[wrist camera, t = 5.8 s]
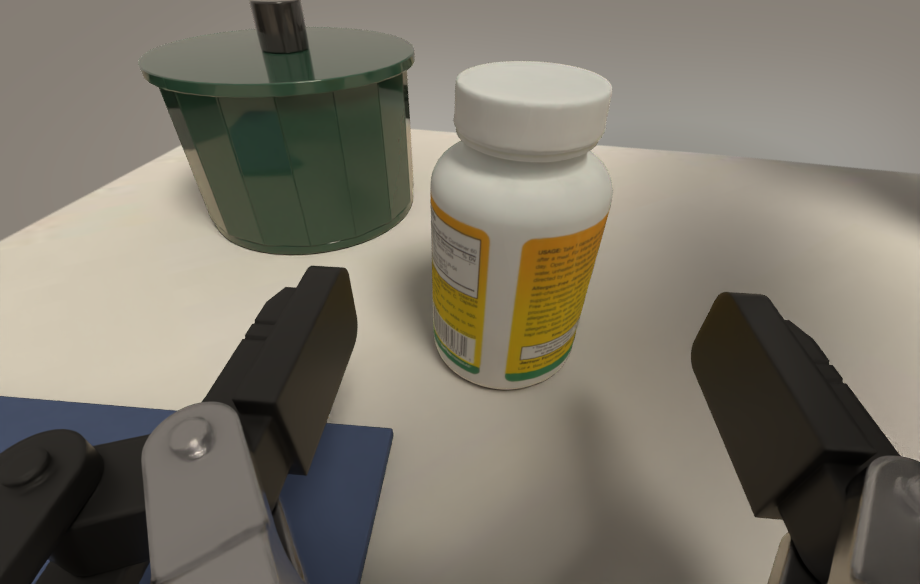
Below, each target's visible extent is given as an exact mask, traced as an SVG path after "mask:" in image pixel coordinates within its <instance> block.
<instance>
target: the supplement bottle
mask: <svg viewBox="0 0 920 584" xmlns="http://www.w3.org/2000/svg"><path fill="white" fill-rule="evenodd" d="M611 95H612V86H611V84H610V82H609V81H608V80H606V79H605V78H604V77H602V76H600V75H598V74H596V73H594V72H592V71H589V70H585V69H582V68H578V67H574V66H568V65H563V64H555V63H548V62H533V61H508V62H495V63H488V64H483V65H479V66H474V67H472V68H469V69H467V70H465V71H463V72H461V73H460V74H459V75H458V76H457V78H456V84H455V114H454V125H455V127H456V132H457V135H458V137H459V138H460V139H461V141H459V142H458V143H456V144H454V145H453V146H451V147H450V148H449V149H448V150H447V151H445V152H444V153H443V155H442V156H441V157H440V158H439V160H438V161H437V163H436V165H435V167H434V170H433V173H432V177H431V241H432V288H433V327H434V340H435V344H436V347H437V350H438V352H439V354H440V356H441V357H442V359H443V360H444V362H445V363H446V364H447V365H448V366H449V367H450V368H451V369H452V370H453V371H454V372H455V373H457V374H458V375H459V376H461V377H462V378H464V379H466V380H468V381H470V382H472V383H474V384H477V385H480V386H484V387H488V388H493V389H504V390H511V389H520V388H524V387H529V386H531V385H534V384H537V383H540V382H542V381H544V380H546V379H548V378H550V377H551V376H553V375H554V374H555V373H557V372H558V371H559V370H560V368H561V367H562V366H563V365H564V363H565V362H566V360H567V359H568V356H569V354H570V351H571V348H572V344H573V341H574V338H575V334H576V330H577V326H578V323H579V319H580V315H581V311H582V307H583V304H584V300H585V296H586V293H587V289H588V285H589V282H590V279H591V275H592V271H593V267H594V264H595V260H596V256H597V253H598V250H599V246H600V243H601V239H602V235H603V232H604V228H605V224H606V221H607V217H608V213H609V210H610V206H611V201H612V192H613V190H612V182H611V178H610V175H609V173H608V170H607V169H606V167H605V165H604V164H603V163H602V161H601V160H600V159H599V158H598V157H597V156H596V155H595V154H594V153H592V152H591V151H590V150H592V149H593V148H594V147H595V146H596V145H597V143H598V141H599V140H600V139H601V138H602V136H603V134H604V132H605V127H606V120H607V115H608V111H609V105H610V100H611Z"/></svg>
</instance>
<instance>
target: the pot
mask: <svg viewBox="0 0 920 584" xmlns="http://www.w3.org/2000/svg"><path fill="white" fill-rule="evenodd" d="M159 89H160V92H161V94H162V97H163V99H164V102H165V104H166V107H167V109H168V112H169V114H170V117H171V119H172V122H173V124H174V127H175V129H176V132H177V134H178V137H179V140H180V142H181V145H182V147H183V150H184V152H185V155H186V157H187V160H188V162H189V165H190V167H191V170H192V172H193V175H194V177H195V180H196V182H197V185H198V187H199V190H200V192H201V195H202V197H203V200H204V202H205V205H206V207H207V210H208V212H209V215H210V217H211V219H212V220H213V221H214V222H215V224H216V226H217V228H218V230H219V231H220V232H221V234H222V235H223V236H224V237H226V238H227V239H228V240H230V241H231V242H233V243H235V244H237V245H239V246H242V247H245V248H248V249H251V250H255V251H260V252H265V253H273V254H289V255H293V254H312V253H322V252H328V251H333V250H338V249H342V248H346V247H350V246H354V245H357V244H360V243H363V242H365V241H368V240H370V239H373V238H375V237H377V236H379V235H381V234H383V233H385V232H386V231H388V230H389V229H391V228H392V227H394V226H395V225H396V224H398V223H399V222H400V221H401V220H402V219H403V218H404V217H405V216H406V214H407V213H408V211H409V210H410V208H411V205H412V202H413V186H414V183H413V166H412V148H411V131H410V114H409V98H408V79H407V70H406V71H405V72H403V73H401V74H399V75H397V76H394V77H392V78H390V79H387V80H384V81H380V82H377V83H374V84H370V85H366V86H362V87H357V88H352V89H347V90H341V91H334V92H328V93H320V94H311V95H301V96H288V97H268V98H230V97H211V96H200V95H192V94H185V93H180V92H175V91H170V90H166V89H163V88H160V87H159Z"/></svg>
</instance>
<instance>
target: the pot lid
mask: <svg viewBox="0 0 920 584" xmlns="http://www.w3.org/2000/svg"><path fill="white" fill-rule="evenodd" d="M249 4H250V7H251V12H252V16H253V20H254V23H255V27H256V29H250V30H239V31H231V32H223V33H216V34H209V35H203V36H197V37H192V38H188V39H183V40H179V41H175V42H171V43H168V44H165V45H162V46H159V47H157V48H155V49H152V50H150V51H148V52H147V53H145V54H143V55H142V57H140V58H139V61H138V65H139V68H140V70H141V72H142V75H143V77H144V78H145V79H146V80H147V81H148V82H149V83H151V84H153V85H155V86H157V87H160V88H163V89H166V90H170V91H175V92H180V93H185V94H192V95H200V96H211V97H230V98H268V97H288V96H301V95H311V94H320V93H328V92H334V91H341V90H347V89H352V88H357V87H362V86H366V85H370V84H374V83H377V82H380V81H384V80H387V79H390V78H392V77H394V76H397V75H399V74H401V73H403V72H405V71H406V70H408V69H409V68H410V67H411V66H412V65H413V63H414V60H415V53H414V47H413V45H412V44H411V43H409V42H408V41H406V40H404V39H402V38H399V37H396V36H393V35H389V34H385V33H380V32H374V31H368V30H359V29H347V28H331V27H306V26H305V20H304V15H303V9H302V3H301V0H249Z"/></svg>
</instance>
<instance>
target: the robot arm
mask: <svg viewBox="0 0 920 584" xmlns="http://www.w3.org/2000/svg"><path fill="white" fill-rule="evenodd" d="M356 337H357V315H356V310H355V305H354V299H353V294H352V289H351V283H350V278H349V274H348V271H347V269H346V268H340V267H324V266H310V267H309V268H308V269H307V270H306V272H305V274H304V276H303V277H302V279H301V281H300V282H299V284H298V286H297V288H292V287H285V288H284V289H283V290H281V291H280V292H279V293H277V294H276V295H275V296H274V297H272V298H271V299H270V300H268V301H267V302H266V303H265V305H264V307H263V308H262V310H261V311H260V313H259V314H258V316H257V317H256V319H255V324H252V325H251V327H250V328H249V330H248V331H247V333H246V335H245V339H242V341H241V342H240V344H239V345H238V347H237V349H236V350H235V352H234V353H233V355H232V356H231V358H230V359H229V361H228V363H227V364H226V366H225V367H224V369H223V370H222V372H221V373H220V375H219V377H218V378H217V380H216V381H215V383H214V384H213V386H212V387H211V389H210V391H209V392H208V394H207V395H206V397H205V398H204V399H203V401H202V402H201V403H197V404H193V405H190V406H187V407H185V408H183V409H180V410H178V411H177V412H175V413H173V414H172V415H170V416H169V417H167V418H166V419H165V420H163V421H162V422H161V423H160V424H159V425H158V426H157V427H156V428H155V429H154V430H153V432H152V433H151V434H148V435H143V436H138V437H134V438H129V439H124V440H119V441H114V442H109V443H104V444H99V445H95V446H92V445H91V444H90V443H89V442H88V441H87V440H86V439H85V438H84V437H83V436H82V435H81V434H79V433H78V432H76V431H73V430H69V429H54V430H49V431H44V432H41V433H37V434H35V435H32V436H30V437H27V438H25V439H23V440H21V441H19V442H17V443H16V444H14V445H12V446H11V447H9V448H7V449H6V450H5V451H3V452H2V453H0V584H31V583H32V582H33V580H34V579H35V577H36V576H37V574H38V573H39V571H40V570H41V568H42V567H43V565H44V564H45V562H46V561H47V560H50V562H49V563H48V565H47V566H46V568H45V569H44V571H43V572H42V574H41V575H40V577H39V578H38V580H37V581H36V583H35V584H139V582H140V581H141V579H142V577H143V575H144V573H145V571H146V569H147V567H148V565H149V563H150V566H151V581H150V584H309V581H308V578H307V575H306V572H305V569H304V566H303V563H302V560H301V556H300V553H299V550H298V547H297V544H296V541H295V538H294V535H293V532H292V529H291V526H290V522H289V519H288V516H287V513H286V510H285V507H284V504H283V501H282V498H281V495H280V492H281V490H282V487H283V485H284V482H285V480H286V477H287V475H288V474H293V475H304V476H307V474H308V471H309V469H310V466H311V463H312V460H313V458H314V455H315V452H316V449H317V447H318V444H319V441H320V438H321V436H322V433H323V430H324V427H325V425H326V422H327V419H328V416H329V414H330V411H331V408H332V405H333V403H334V400H335V397H336V395H337V392H338V389H339V386H340V384H341V381H342V378H343V375H344V373H345V370H346V367H347V364H348V362H349V359H350V356H351V353H352V351H353V348H354V345H355V342H356ZM691 363H692V368H693V371H694V373H695V376H696V378H697V380H698V383H699V385H700V387H701V390H702V392H703V395H704V397H705V399H706V402H707V404H708V406H709V409H710V411H711V414H712V416H713V418H714V421H715V423H716V425H717V428H718V430H719V433H720V435H721V437H722V440H723V442H724V444H725V447H726V449H727V452H728V454H729V456H730V459H731V461H732V463H733V466H734V468H735V471H736V473H737V475H738V478H739V480H740V482H741V485H742V487H743V490H744V492H745V494H746V497H747V499H748V501H749V504H750V506H751V509H752V511H753V513H754V516H755V517H758V518H770V519H781V520H783V521H784V523H785V525H786V527H787V530H788V533H786V534H785V535H784V536H783V538H782V539H781V542H780V544H779V548H778V551H777V554H776V557H775V561H774V564H773V567H772V570H771V574H770V577H769V580H768V583H767V584H920V462H919V461H916V460H913V459H910V458H906V457H902V456H900V455H899V454H898V452H897V451H896V450H895V448H894V447H893V446H892V444H891V443H890V441H889V440H888V439H887V437H886V436H885V435H884V433H883V432H882V431H881V429H880V428H879V427H878V425H877V424H876V423H875V421H874V420H873V419H872V417H871V416H870V415H869V413H868V412H867V411H866V409H865V408H864V407H863V405H862V404H861V403H860V401H859V400H858V398H857V397H856V396H855V394H854V393H853V392H852V390H851V389H850V388H849V386H848V385H847V384H846V383H843V382H842V380H843V378H842V377H841V376H840V374H839V373H838V372H837V370H836V369H835V368H834V366H833V365H829V360H828V358H827V357H826V355H825V354H824V353H823V351H822V350H821V349H820V347H819V346H818V345H817V343H816V342H815V341H814V339H812V338H811V337H810V336H809V335H807V334H806V333H805V332H803V331H802V330H801V329H800V328H798V327H797V326H796V325H795V324H793V323H792V322H791V321H789V320H784V319H783V317H782V316H781V315H780V313H779V312H778V310H777V309H776V308H775V306H774V305H773V303H772V302H771V300H770V299H769V298H768V297H767V296H765V295H763V294H749V293H733V292H723V293H721V294H720V295H718V297H717V298H716V299H715V301H714V303H713V305H712V307H711V309H710V311H709V313H708V315H707V317H706V319H705V321H704V323H703V324H702V326H701V328H700V330H699V332H698V334H697V336H696V338H695V340H694V342H693V345H692V350H691Z"/></svg>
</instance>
